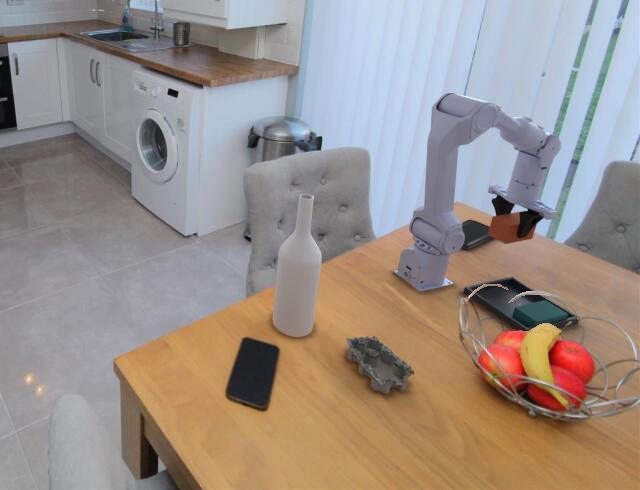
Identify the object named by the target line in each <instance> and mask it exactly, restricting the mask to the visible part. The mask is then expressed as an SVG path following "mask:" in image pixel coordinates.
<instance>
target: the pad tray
mask: <svg viewBox="0 0 640 490" xmlns="http://www.w3.org/2000/svg"><path fill="white" fill-rule="evenodd" d="M483 284H501V285H502V286H504V287H507V288H508V289H509V290H506V289H504V288H502V287H498V286H487V287H484V288H482V289H480V290H479V291H477V292H476V293H475V294H474V295H473V296H472V297H470V299H472V300H473V301H474V302H476V303H478V304H479V305H480V306H482V307H483V308H484V309H486V310H488V311H489V312H490V313H492V314H493V315H494V316H496V317H497V318H498V319H500V320H502V319H503V320H502V321H503V322H504V323H506V324H507V325H509V326H510V327H511V328H512V329H514V330H515V331H517V330H522V331H529V330H531V329H532V328H534V327H536V326H533V327H529V328H527V327H526V326H524V325H523V324H522V323H520V322H519V321H517V320H516V319H514V318H513V317H512V315H513V312H514V309H515V307H518V306H520V305H519V303H521V306H522V305H527V304H531V303H535V302H540V301H544V300H546V301H548V302H549V303H551V304H553V305H554V306H556V307H557V308H559V309H561V310H562V311H564V312H566V313H567V314H568V316H567V318H566V319H562V320H558V321H554V322H550V324H552V325H554V326H556V327H557V328H559V329H563V328H565V327H564V326H565V325H566V324H567V323H568V322H569V321H572V323H571V324H570V325H569V326H568V327H571V326H574V325H578V324H579V321H580V319H581V317H580V316H578V315H577V314H575V313H573V312H572V311H570V310H568V309H567V308H565V307H563V306H562V305H560V304H559V303H557V302H555V301H553V300H552V299H551V298H549V297H547V296H546V295H544V296H542V295H543V294H542V295H525V296H521V297H519V298H518V299H516V300H514V301H513V302H510V303H508V302H509V301H510V300H511V299H512V298H514V297H515V296H516V295H518V294H520V293H522V292H526V291H536V290H535V289H534V288H532V287H531V286H529V285H527V284H525V283H523V282H522V281H521V280H519V279H517V278H516V277H514V276H509V277H504V278H499V279H494V280H490V281H489V280H488V281H486V282H481V283H476V284H472V285H467V286H464V288H463V293H464V294H465V295H466V296H468V295H470V294H471V293H472V292H473V291H474V290H475V289H477V288H478V287H480V286H482V285H483ZM577 318H580V319H579V320H577Z"/></svg>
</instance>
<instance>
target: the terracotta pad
mask: <svg viewBox="0 0 640 490" xmlns="http://www.w3.org/2000/svg"><path fill="white" fill-rule="evenodd" d="M519 212H520V211H515V212H511V213H509V214H504V215H498V216H496V215H494V216H491V221H490V224H489V227H490V228H489V231H488V235H490V236H492V237H493V238H492V239H495V240H497V241H499V242H501V243H502V244H505V245H508V244H512V243H518V242H523V241H529V240H532V239H533V237H534V235H535V232H536V228H537V225H538V223H537V224H536V225H535V226H534V227H533V228H532V230H531V231H530V232H529V234H528V235H527V237H525V238H518V237H517V232H518V228H519V224H520V215H519Z"/></svg>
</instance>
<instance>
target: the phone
mask: <svg viewBox="0 0 640 490" xmlns="http://www.w3.org/2000/svg"><path fill="white" fill-rule="evenodd" d="M461 222H462V231H463V233H464V235H465V240H464V244H463V246H462V247H461V248H460V249H462V250H465V251H467V250H471V249H473V248H475V247H478V246H480V245H481V244H484V243H486V242H488V241H490V240H493V239H494V238H493V237H492V236H490V235H488V231H489V228H490V225H488V224H485V223H482V222H480V221H477V220H474V219H467V220H465V221H461Z"/></svg>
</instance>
